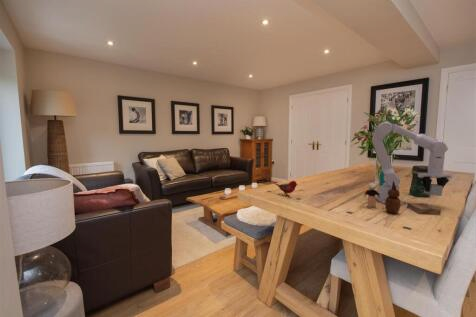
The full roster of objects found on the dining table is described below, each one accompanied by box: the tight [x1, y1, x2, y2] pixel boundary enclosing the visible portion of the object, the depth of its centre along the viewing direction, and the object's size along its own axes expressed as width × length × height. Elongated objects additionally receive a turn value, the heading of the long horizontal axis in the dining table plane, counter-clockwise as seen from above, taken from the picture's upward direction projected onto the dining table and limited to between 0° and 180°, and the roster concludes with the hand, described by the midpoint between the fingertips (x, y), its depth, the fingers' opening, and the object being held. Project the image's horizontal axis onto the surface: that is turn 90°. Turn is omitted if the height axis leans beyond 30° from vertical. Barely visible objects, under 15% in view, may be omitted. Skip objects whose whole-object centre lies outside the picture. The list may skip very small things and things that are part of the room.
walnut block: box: [406, 202, 442, 216], centre depth 106 cm, size 9×9×3 cm
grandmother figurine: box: [363, 182, 380, 209], centre depth 111 cm, size 8×4×13 cm, turn 92°
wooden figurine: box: [384, 181, 401, 214], centre depth 104 cm, size 7×6×15 cm
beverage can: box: [378, 169, 385, 186], centre depth 136 cm, size 6×6×15 cm
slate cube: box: [424, 183, 444, 197], centre depth 112 cm, size 5×5×5 cm
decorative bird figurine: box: [273, 180, 298, 197], centre depth 132 cm, size 3×18×10 cm, turn 42°
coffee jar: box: [408, 165, 432, 198], centre depth 132 cm, size 10×8×19 cm
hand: (432, 191), depth 112 cm, fingers closed on slate cube, 5 cm apart
